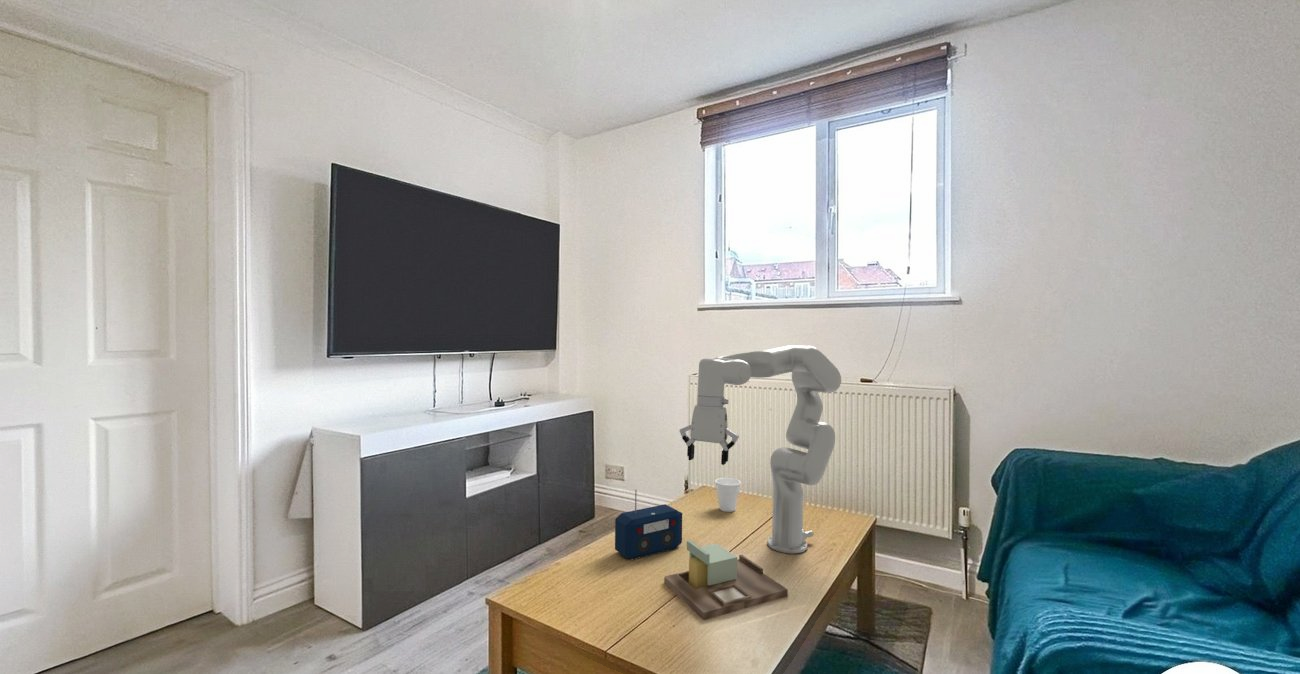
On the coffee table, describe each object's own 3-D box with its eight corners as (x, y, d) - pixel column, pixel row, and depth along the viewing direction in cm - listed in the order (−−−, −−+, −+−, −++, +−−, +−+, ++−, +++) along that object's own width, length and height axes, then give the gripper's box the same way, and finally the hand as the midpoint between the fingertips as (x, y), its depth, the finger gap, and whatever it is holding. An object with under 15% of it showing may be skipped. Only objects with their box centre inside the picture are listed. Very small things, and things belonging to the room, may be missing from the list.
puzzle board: (741, 565, 154) (741, 554, 154) (787, 596, 137) (787, 584, 137) (664, 583, 143) (664, 572, 143) (703, 620, 125) (704, 607, 125)
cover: (716, 563, 150) (716, 534, 150) (736, 578, 141) (737, 547, 141) (686, 570, 146) (686, 540, 146) (705, 586, 137) (706, 554, 137)
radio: (627, 563, 155) (628, 496, 155) (613, 552, 162) (614, 488, 162) (684, 548, 166) (685, 486, 166) (669, 538, 173) (669, 479, 173)
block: (701, 580, 145) (701, 556, 144) (709, 586, 141) (709, 561, 141) (688, 583, 143) (689, 558, 143) (696, 590, 139) (696, 564, 139)
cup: (714, 513, 198) (714, 484, 198) (715, 504, 208) (715, 477, 207) (740, 515, 196) (740, 486, 196) (740, 506, 206) (740, 478, 206)
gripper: (742, 403, 149) (739, 463, 149) (685, 398, 156) (682, 455, 156) (737, 406, 143) (733, 468, 142) (677, 400, 149) (674, 460, 149)
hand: (707, 461), depth 149 cm, fingers open, 9 cm apart
